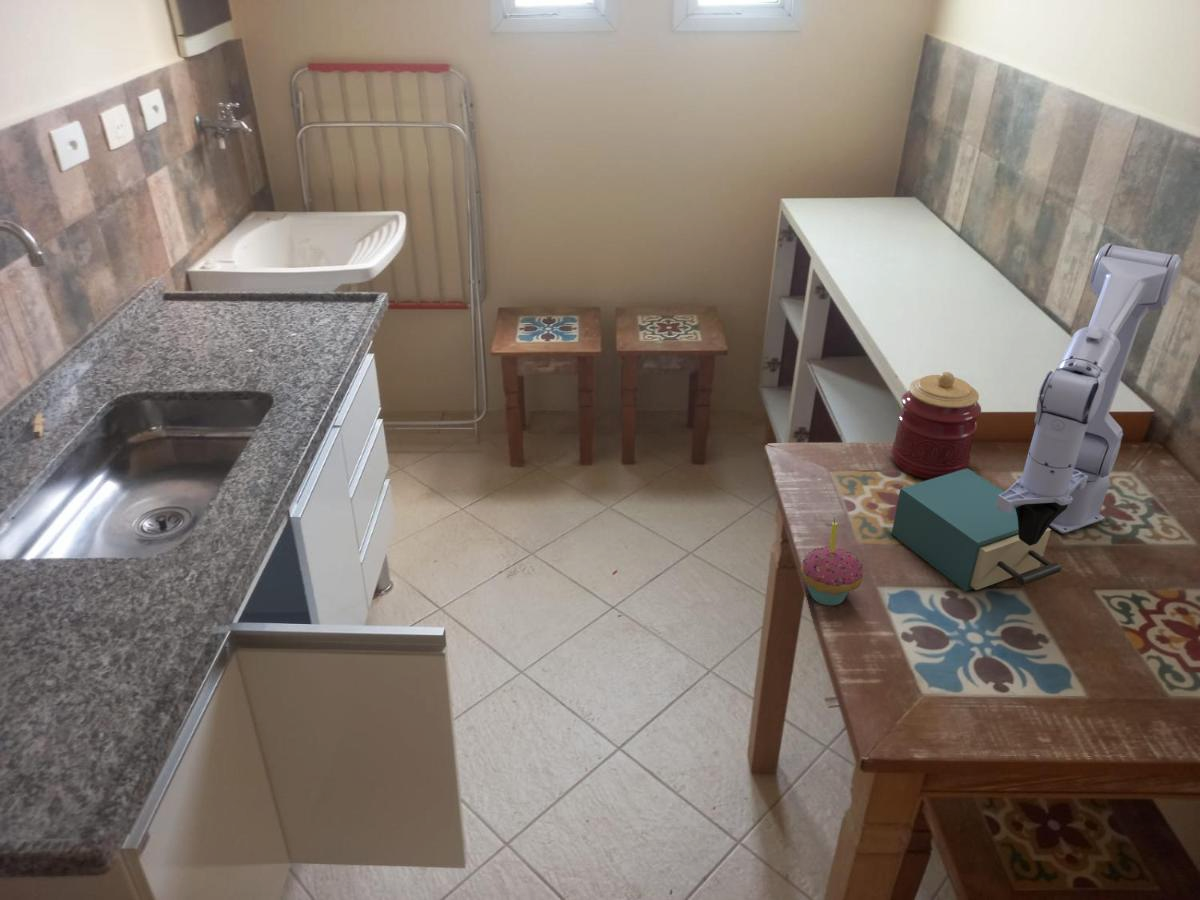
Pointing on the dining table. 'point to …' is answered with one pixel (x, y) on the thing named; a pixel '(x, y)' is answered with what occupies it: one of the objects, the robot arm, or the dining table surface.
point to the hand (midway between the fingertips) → (1027, 540)
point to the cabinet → (952, 522)
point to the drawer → (1012, 562)
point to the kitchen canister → (936, 426)
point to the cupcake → (831, 572)
